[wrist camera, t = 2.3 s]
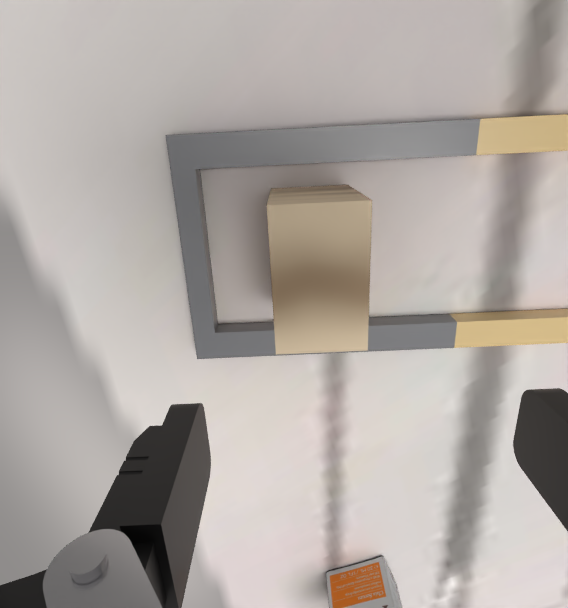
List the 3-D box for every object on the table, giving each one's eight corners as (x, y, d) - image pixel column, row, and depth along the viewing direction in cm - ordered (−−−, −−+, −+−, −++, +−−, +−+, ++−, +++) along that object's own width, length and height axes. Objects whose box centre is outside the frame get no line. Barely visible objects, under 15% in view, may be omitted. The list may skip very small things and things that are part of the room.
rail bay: (171, 135, 26) (165, 135, 24) (616, 112, 25) (635, 110, 24) (200, 349, 31) (197, 359, 30) (567, 333, 31) (581, 342, 29)
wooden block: (271, 188, 27) (266, 205, 20) (347, 184, 27) (372, 200, 20) (277, 302, 30) (275, 354, 23) (346, 299, 30) (367, 350, 22)
